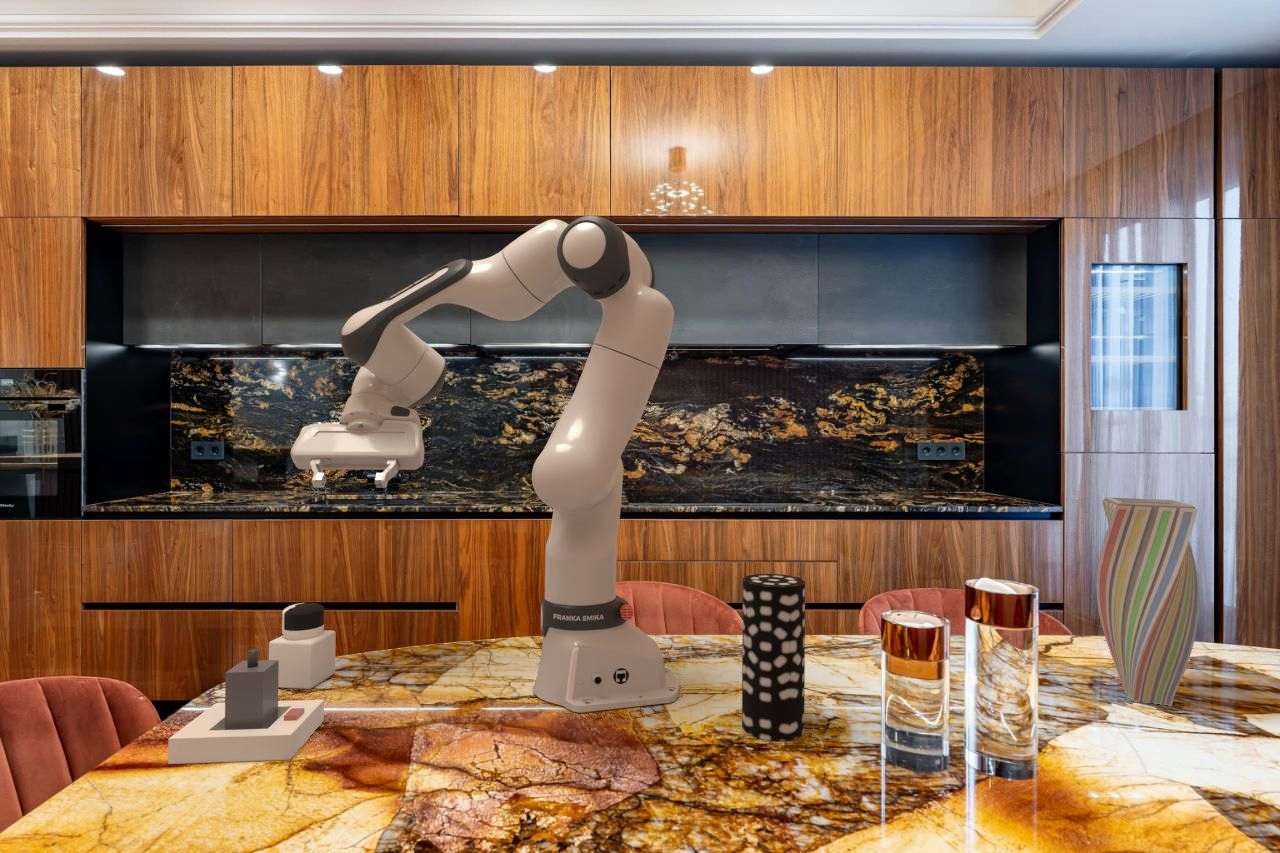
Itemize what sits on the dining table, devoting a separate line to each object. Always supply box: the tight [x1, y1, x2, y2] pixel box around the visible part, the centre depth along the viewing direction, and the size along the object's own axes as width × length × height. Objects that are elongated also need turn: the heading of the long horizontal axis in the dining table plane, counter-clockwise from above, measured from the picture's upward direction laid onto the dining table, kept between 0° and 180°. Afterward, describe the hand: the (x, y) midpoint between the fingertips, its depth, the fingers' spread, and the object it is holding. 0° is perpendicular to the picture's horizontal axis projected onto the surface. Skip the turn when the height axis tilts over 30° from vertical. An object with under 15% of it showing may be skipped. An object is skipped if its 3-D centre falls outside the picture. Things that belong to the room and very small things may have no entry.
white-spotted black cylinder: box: [741, 573, 806, 742], centre depth 94 cm, size 8×8×20 cm
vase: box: [1095, 496, 1200, 707], centre depth 105 cm, size 14×14×30 cm
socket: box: [167, 699, 325, 765], centre depth 88 cm, size 14×11×4 cm
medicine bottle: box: [268, 602, 337, 690], centre depth 110 cm, size 7×7×12 cm
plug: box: [224, 648, 279, 730], centre depth 88 cm, size 4×4×11 cm
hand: (349, 485), depth 107 cm, fingers open, 8 cm apart
